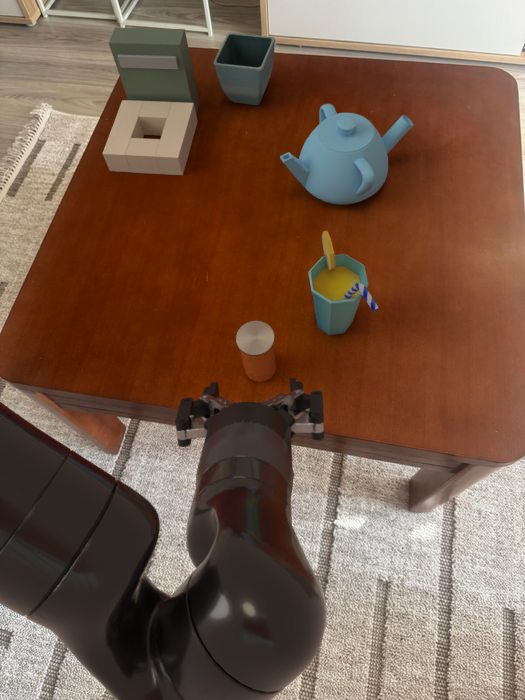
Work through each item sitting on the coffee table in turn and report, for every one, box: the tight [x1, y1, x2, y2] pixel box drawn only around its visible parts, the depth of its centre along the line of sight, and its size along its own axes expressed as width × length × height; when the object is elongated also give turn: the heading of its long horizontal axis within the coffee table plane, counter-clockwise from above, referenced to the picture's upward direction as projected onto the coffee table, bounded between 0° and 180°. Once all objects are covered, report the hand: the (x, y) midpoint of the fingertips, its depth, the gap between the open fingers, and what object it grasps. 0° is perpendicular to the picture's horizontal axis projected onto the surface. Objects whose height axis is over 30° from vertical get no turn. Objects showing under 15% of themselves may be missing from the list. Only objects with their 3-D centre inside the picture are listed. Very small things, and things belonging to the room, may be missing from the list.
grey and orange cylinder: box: [235, 320, 277, 383], centre depth 69 cm, size 5×5×9 cm
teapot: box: [279, 103, 414, 206], centre depth 83 cm, size 15×17×11 cm
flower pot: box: [213, 32, 276, 106], centre depth 94 cm, size 9×9×9 cm
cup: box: [308, 230, 380, 336], centre depth 69 cm, size 14×8×15 cm, turn 28°
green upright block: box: [108, 27, 200, 115], centre depth 92 cm, size 12×4×14 cm, turn 82°
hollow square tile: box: [102, 99, 199, 176], centre depth 92 cm, size 13×13×4 cm
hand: (254, 387), depth 58 cm, fingers open, 8 cm apart
